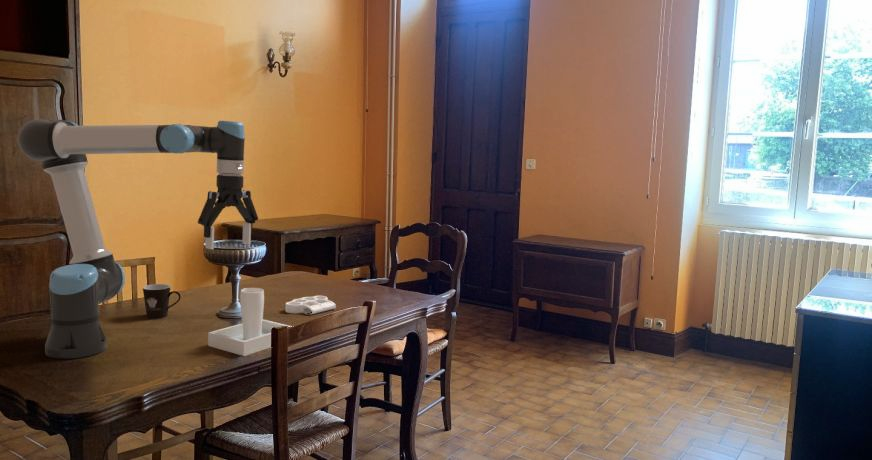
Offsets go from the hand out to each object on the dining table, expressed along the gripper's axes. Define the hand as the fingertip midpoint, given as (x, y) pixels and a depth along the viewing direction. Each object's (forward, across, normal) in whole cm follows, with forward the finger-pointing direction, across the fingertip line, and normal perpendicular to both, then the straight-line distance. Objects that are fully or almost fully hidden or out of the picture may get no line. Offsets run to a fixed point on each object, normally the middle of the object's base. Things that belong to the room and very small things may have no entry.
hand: (228, 246), depth 198 cm
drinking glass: (+28, +3, -8) cm, 29 cm away
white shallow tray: (+28, +3, -8) cm, 30 cm away
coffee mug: (+29, +3, +37) cm, 47 cm away
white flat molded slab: (+29, +43, +7) cm, 52 cm away
